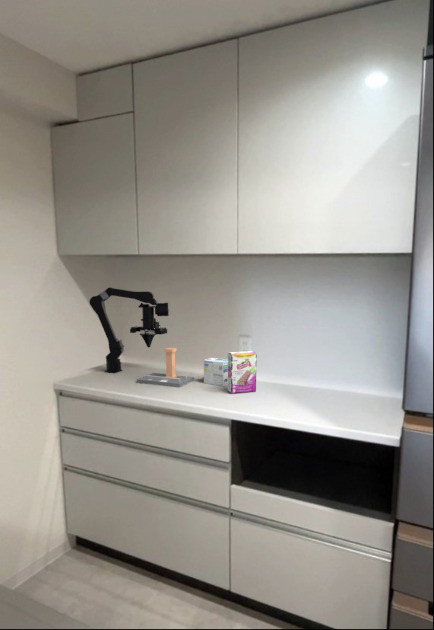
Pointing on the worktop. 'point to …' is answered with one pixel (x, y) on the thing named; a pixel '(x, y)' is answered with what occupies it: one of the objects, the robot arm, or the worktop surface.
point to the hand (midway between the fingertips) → (148, 347)
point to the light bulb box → (216, 371)
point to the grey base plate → (165, 380)
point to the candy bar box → (242, 372)
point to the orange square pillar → (170, 362)
